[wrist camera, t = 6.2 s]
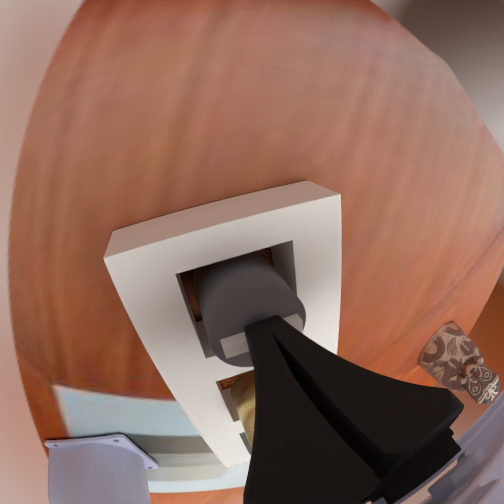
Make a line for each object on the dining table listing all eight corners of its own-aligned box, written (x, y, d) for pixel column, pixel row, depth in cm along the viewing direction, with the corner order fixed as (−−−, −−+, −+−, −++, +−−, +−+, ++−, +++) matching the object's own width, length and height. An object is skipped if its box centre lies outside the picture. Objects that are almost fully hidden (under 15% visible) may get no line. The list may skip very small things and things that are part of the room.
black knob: (203, 317, 15) (225, 386, 11) (183, 254, 13) (200, 317, 9) (270, 296, 16) (312, 354, 12) (261, 232, 14) (310, 281, 10)
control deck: (217, 442, 22) (226, 467, 20) (112, 231, 12) (103, 258, 10) (313, 408, 25) (327, 430, 22) (307, 180, 14) (340, 194, 12)
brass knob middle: (237, 410, 17) (262, 472, 12) (224, 377, 15) (252, 451, 11) (292, 390, 18) (325, 447, 13) (289, 354, 16) (330, 419, 11)
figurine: (454, 311, 28) (518, 364, 18) (453, 337, 31) (505, 384, 21) (416, 351, 28) (479, 414, 18) (419, 371, 31) (470, 425, 21)
